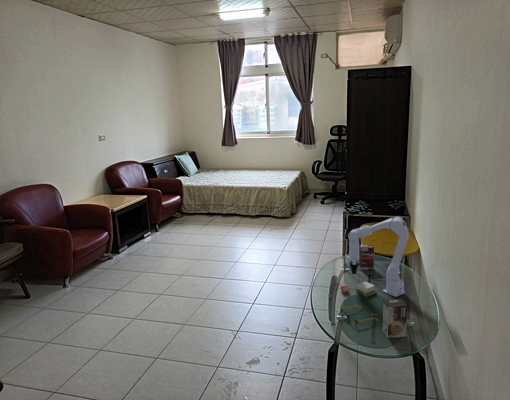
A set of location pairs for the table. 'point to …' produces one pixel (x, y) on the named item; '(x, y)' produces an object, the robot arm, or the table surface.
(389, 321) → the coffee box
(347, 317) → the eyeglasses
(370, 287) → the sage top slab
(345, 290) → the salmon pink cylinder
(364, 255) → the supplement box
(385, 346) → the table surface
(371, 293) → the walnut base slab
